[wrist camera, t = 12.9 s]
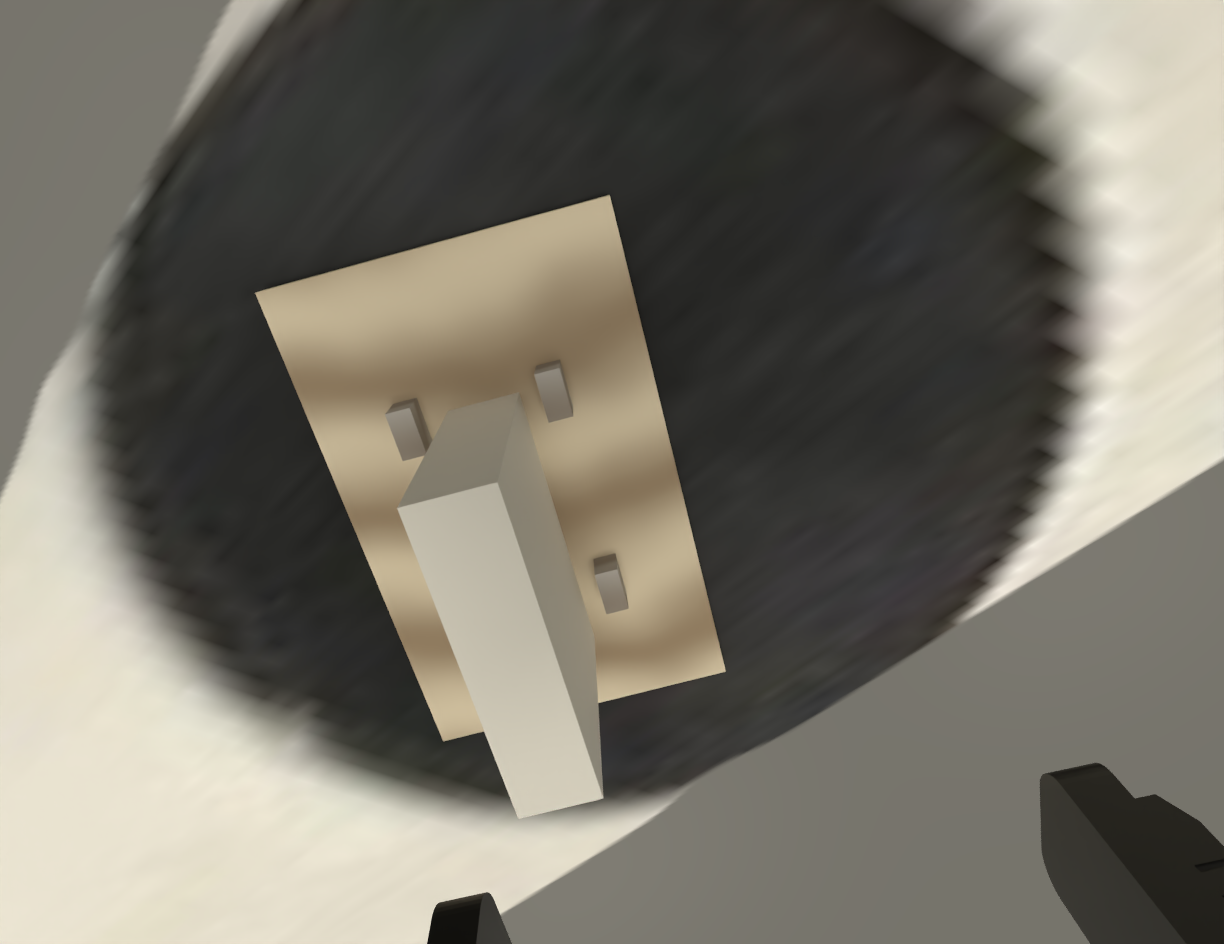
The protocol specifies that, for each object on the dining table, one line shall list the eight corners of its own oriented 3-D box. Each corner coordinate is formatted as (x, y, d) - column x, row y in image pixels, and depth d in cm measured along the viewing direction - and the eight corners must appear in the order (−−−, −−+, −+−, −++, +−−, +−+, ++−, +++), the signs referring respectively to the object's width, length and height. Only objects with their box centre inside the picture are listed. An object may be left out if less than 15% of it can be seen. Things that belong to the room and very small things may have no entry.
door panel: (429, 415, 32) (370, 515, 22) (518, 392, 31) (497, 482, 22) (515, 656, 36) (495, 824, 26) (594, 636, 36) (603, 798, 26)
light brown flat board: (264, 289, 30) (239, 298, 28) (608, 194, 30) (611, 196, 27) (446, 727, 38) (438, 763, 36) (721, 659, 38) (731, 690, 35)
